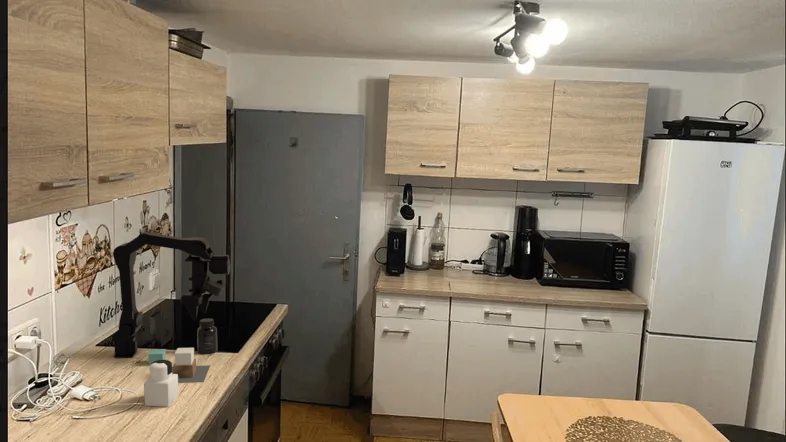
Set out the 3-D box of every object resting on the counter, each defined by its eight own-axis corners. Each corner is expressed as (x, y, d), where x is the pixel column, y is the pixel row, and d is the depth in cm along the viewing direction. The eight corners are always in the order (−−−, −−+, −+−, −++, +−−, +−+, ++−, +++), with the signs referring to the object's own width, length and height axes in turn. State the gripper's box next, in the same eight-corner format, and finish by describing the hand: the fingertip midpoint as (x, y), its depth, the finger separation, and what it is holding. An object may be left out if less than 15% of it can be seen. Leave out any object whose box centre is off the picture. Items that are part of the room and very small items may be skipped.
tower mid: (174, 365, 185) (174, 353, 185) (178, 359, 190) (177, 348, 189) (191, 364, 186) (191, 353, 185) (194, 359, 191) (193, 347, 190)
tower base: (173, 378, 185) (173, 366, 185) (177, 370, 191) (176, 359, 190) (192, 377, 186) (192, 365, 186) (196, 370, 192) (195, 358, 191)
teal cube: (148, 367, 195) (148, 354, 194) (152, 362, 199) (151, 349, 199) (162, 366, 196) (162, 353, 195) (165, 361, 200) (165, 349, 199)
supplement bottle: (220, 349, 213) (219, 317, 211) (212, 356, 206) (212, 323, 204) (202, 348, 213) (201, 316, 212) (194, 355, 207) (193, 322, 205)
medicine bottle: (155, 395, 173) (154, 357, 172) (178, 396, 173) (177, 357, 171) (144, 406, 166) (142, 366, 164) (168, 407, 166) (167, 367, 164)
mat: (157, 385, 181) (157, 383, 180) (167, 367, 194) (167, 366, 194) (203, 383, 183) (203, 381, 183) (210, 366, 197) (210, 365, 196)
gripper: (212, 281, 195) (212, 325, 197) (230, 269, 213) (230, 310, 215) (180, 279, 195) (180, 324, 197) (200, 267, 213) (200, 308, 215)
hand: (199, 316), depth 206 cm, fingers open, 9 cm apart
